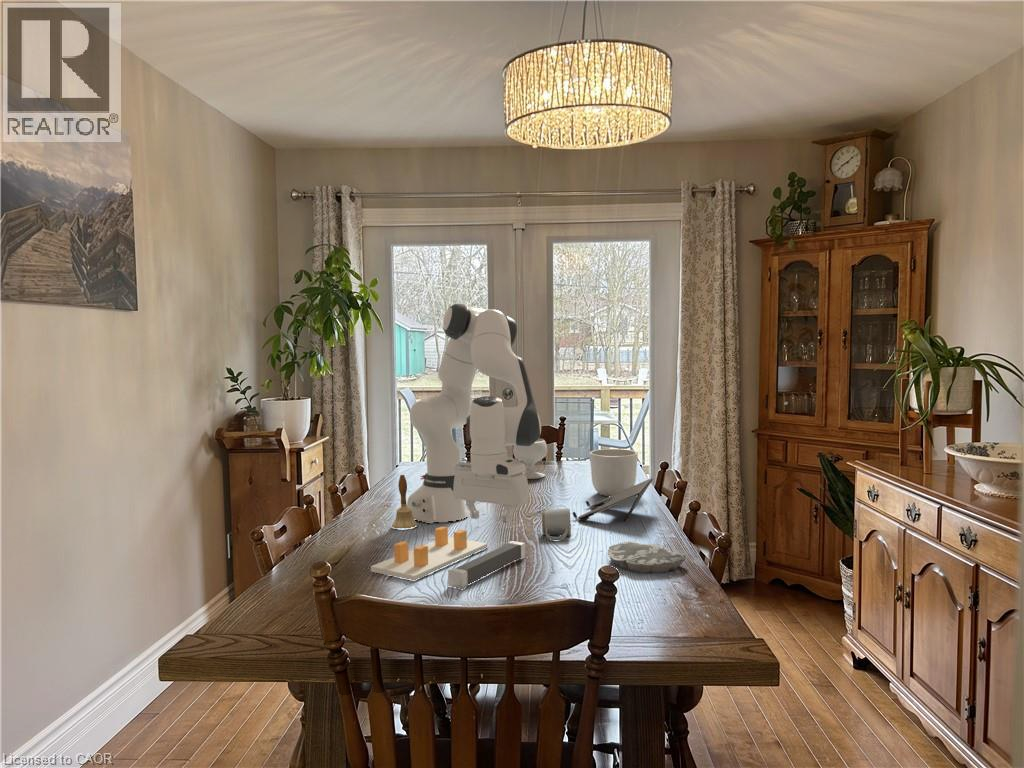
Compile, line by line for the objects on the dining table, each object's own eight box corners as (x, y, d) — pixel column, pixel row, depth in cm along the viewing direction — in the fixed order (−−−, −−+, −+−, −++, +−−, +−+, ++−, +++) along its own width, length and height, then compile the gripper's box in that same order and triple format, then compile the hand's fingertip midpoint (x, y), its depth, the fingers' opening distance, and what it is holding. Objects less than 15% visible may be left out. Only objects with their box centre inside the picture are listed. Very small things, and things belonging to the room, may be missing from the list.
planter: (636, 489, 263) (635, 448, 262) (639, 500, 246) (639, 456, 245) (589, 489, 265) (589, 448, 264) (590, 499, 248) (589, 456, 247)
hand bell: (397, 532, 211) (396, 478, 210) (386, 526, 218) (384, 474, 217) (423, 527, 216) (421, 475, 215) (411, 521, 223) (409, 471, 222)
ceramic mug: (542, 531, 210) (542, 505, 209) (570, 531, 209) (570, 505, 208) (541, 542, 199) (541, 515, 198) (571, 542, 198) (570, 515, 198)
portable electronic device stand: (600, 523, 239) (588, 498, 240) (662, 497, 231) (649, 472, 232) (582, 543, 217) (568, 515, 218) (649, 515, 209) (635, 486, 210)
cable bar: (448, 587, 164) (448, 570, 164) (512, 555, 187) (512, 540, 187) (462, 590, 162) (462, 573, 162) (525, 558, 185) (525, 543, 184)
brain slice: (590, 565, 179) (590, 553, 179) (630, 549, 191) (630, 538, 191) (656, 583, 165) (656, 571, 165) (695, 565, 177) (695, 554, 177)
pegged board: (370, 572, 176) (370, 548, 175) (446, 541, 201) (446, 520, 200) (414, 582, 168) (413, 557, 167) (487, 548, 193) (487, 527, 193)
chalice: (507, 475, 293) (507, 439, 292) (538, 472, 299) (537, 436, 298) (522, 481, 280) (521, 443, 279) (553, 478, 286) (553, 441, 285)
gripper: (446, 463, 176) (448, 518, 176) (517, 469, 165) (519, 528, 165) (462, 459, 181) (464, 513, 182) (531, 464, 170) (533, 522, 171)
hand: (490, 520), depth 173 cm, fingers open, 8 cm apart
